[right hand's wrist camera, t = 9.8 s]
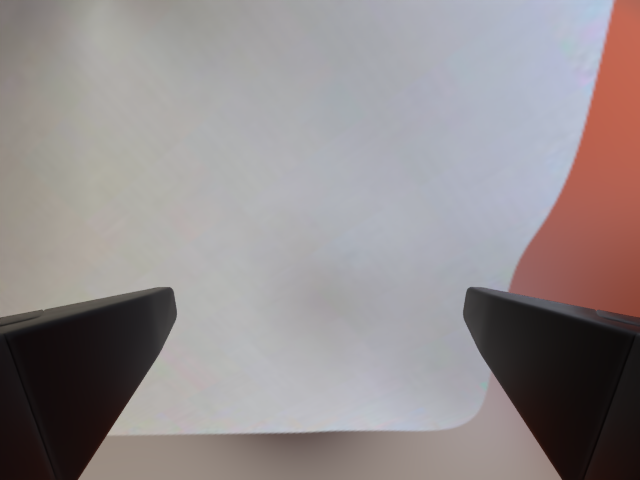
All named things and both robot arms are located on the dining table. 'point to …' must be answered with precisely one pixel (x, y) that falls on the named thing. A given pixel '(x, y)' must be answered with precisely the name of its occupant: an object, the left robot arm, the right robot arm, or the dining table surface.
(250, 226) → the dining table surface
